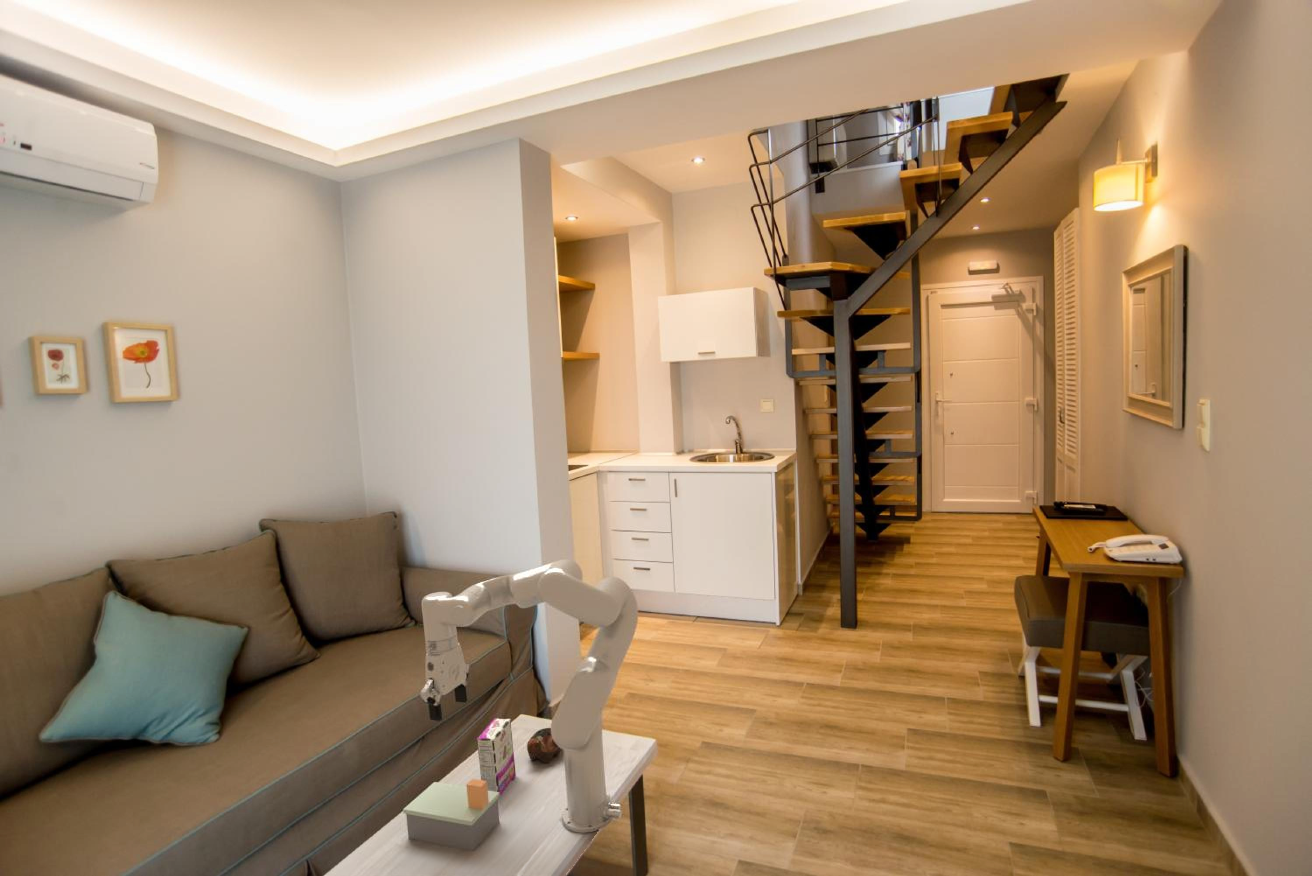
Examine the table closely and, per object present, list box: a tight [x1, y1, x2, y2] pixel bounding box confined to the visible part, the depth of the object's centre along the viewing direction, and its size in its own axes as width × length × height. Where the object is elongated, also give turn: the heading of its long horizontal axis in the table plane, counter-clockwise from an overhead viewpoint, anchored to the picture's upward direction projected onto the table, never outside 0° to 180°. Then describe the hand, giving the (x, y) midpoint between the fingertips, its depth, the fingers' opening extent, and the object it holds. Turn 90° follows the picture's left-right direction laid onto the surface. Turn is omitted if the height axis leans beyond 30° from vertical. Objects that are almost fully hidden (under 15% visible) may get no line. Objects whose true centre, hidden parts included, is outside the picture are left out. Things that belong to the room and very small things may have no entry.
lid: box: [402, 778, 501, 826], centre depth 165 cm, size 19×12×6 cm, turn 70°
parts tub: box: [405, 798, 500, 852], centre depth 165 cm, size 18×11×7 cm, turn 70°
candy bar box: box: [476, 717, 517, 796], centre depth 183 cm, size 11×5×16 cm, turn 168°
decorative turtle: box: [526, 727, 562, 764], centre depth 198 cm, size 10×15×8 cm, turn 157°
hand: (449, 710), depth 171 cm, fingers open, 9 cm apart
